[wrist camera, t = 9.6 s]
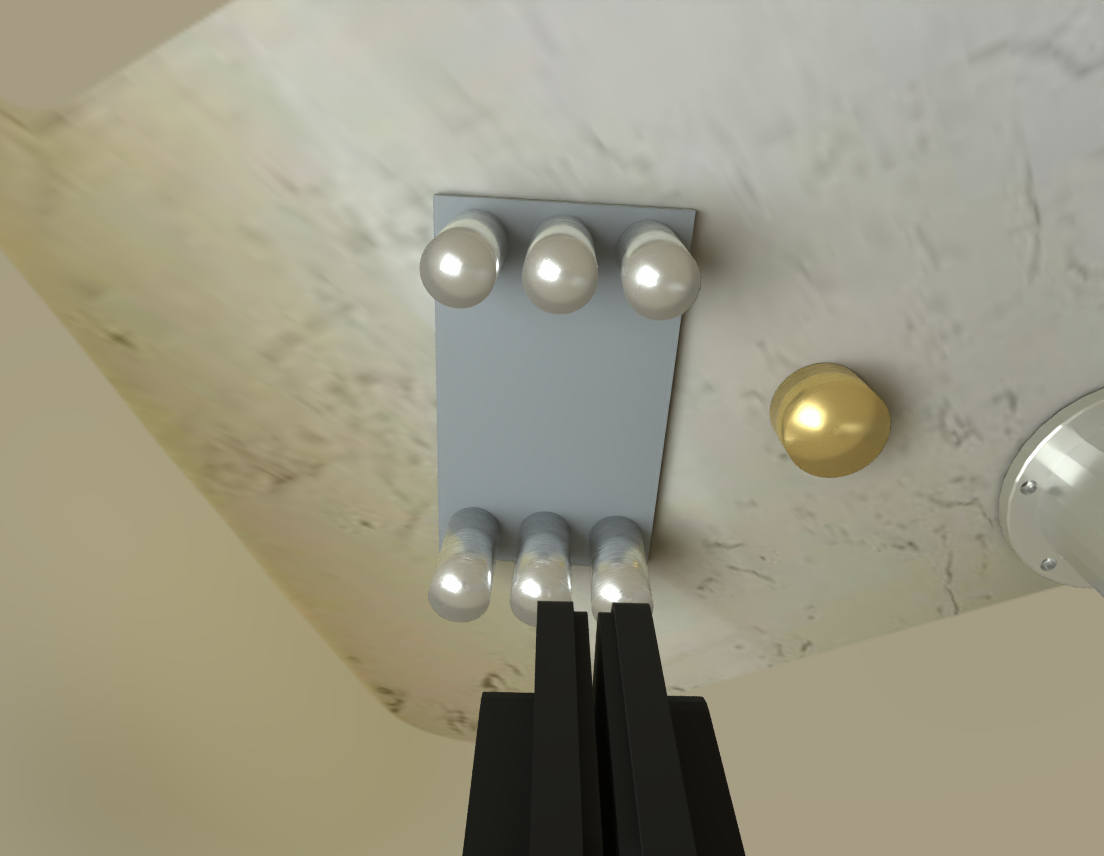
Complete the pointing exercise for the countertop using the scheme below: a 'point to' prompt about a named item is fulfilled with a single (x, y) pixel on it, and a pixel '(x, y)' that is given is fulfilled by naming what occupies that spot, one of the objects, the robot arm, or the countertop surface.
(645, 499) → the plate
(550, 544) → the steel spacers
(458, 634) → the countertop surface
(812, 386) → the gold rounded lump
